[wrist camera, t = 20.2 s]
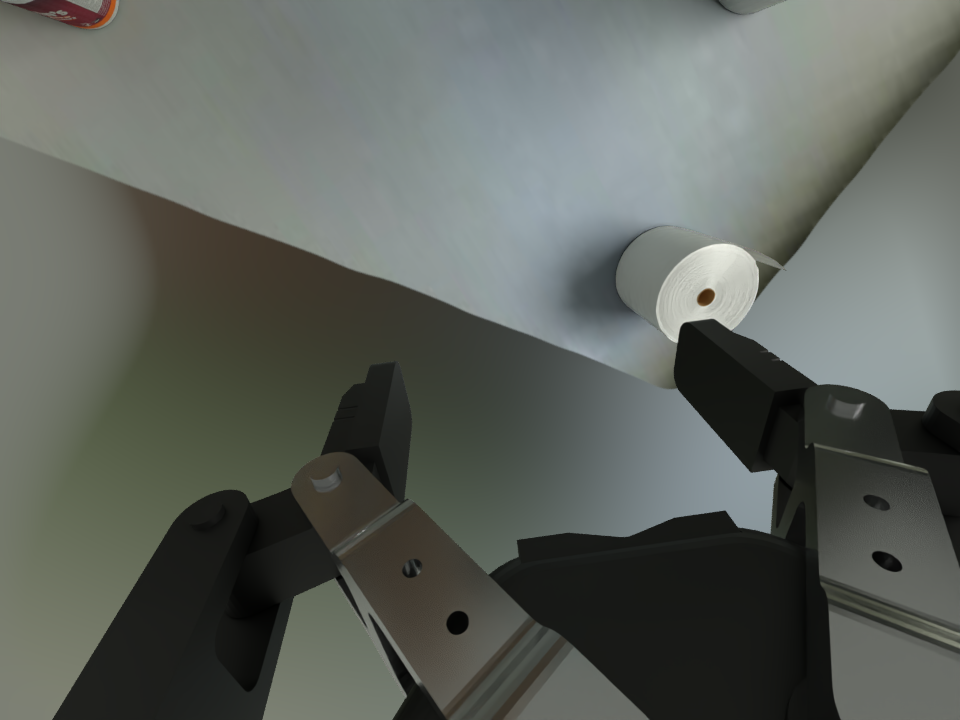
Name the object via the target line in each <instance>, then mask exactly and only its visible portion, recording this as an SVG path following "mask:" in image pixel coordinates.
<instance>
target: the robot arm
mask: <svg viewBox="0 0 960 720" xmlns="http://www.w3.org/2000/svg"><path fill="white" fill-rule="evenodd" d="M784 1H786V0H719V2H720V3H721V4H722V5H723V6H724V7H725V8H726V9H728V10H730V11H732V12H734V13H739V14H751V13H755V12H758V11H760V10H763V9H766V8H768V7H771V6H773V5H776V4H778V3H781V2H784ZM674 379H675V383H676V386H677V388H678V390H679V391H680V392H681V394H682V395H683V396H684V397H685V398H686V399H687V400H688V402H689V403H690V404H691V405H692V406H693V407H694V408H695V410H696V411H697V412H698V413H699V414H700V415H701V416H702V417H703V419H704V420H705V421H706V422H707V423H708V424H709V425H710V427H711V428H712V429H713V430H714V431H715V432H716V433H717V434H718V436H719V437H720V438H721V439H722V440H723V441H724V442H725V443H726V445H727V446H728V447H729V448H730V449H731V450H732V451H733V453H734V454H735V455H736V456H737V457H738V458H739V460H740V461H741V462H742V463H743V464H744V465H745V466H746V467H747V469H749V471H750V472H752V473H753V472H760V471H766V470H775V471H776V472H777V473H778V474H777V477H776V480H775V483H774V490H773V506H772V520H771V534H768V533H764V532H760V531H756V530H750V529H745V528H738V527H737V526H736V524H735V523H734V522H733V520H732V519H731V518H730V516H729V515H728V514H727V512H726V511H719V512H712V513H705V514H698V515H691V516H684V517H677V518H673V519H671V520H668V521H666V522H664V523H661V524H658V525H656V526H654V527H651V528H649V529H647V530H644V531H642V532H640V533H637V534H635V535H632V536H630V537H612V536H600V535H589V534H576V533H564V534H556V535H550V536H542V537H535V538H528V539H521V540H517V545H518V554H519V557H517V558H515V559H513V560H510V561H508V562H507V563H505V564H504V565H502V566H500V567H498V568H497V569H496V570H494V571H493V572H492V573H490V574H489V575H488V574H487V573H486V572H485V571H484V570H483V569H482V568H481V567H480V566H479V565H478V564H477V563H476V562H475V561H474V560H473V559H472V558H470V556H469V555H468V554H467V553H465V551H463V549H462V548H461V547H459V545H457V544H456V543H455V542H454V541H453V540H452V539H451V538H450V537H449V536H448V535H447V534H446V533H445V532H444V531H443V530H442V529H441V528H440V527H439V526H438V525H437V524H436V523H435V522H434V521H433V520H432V519H431V518H430V517H429V516H428V515H427V514H426V513H425V512H424V511H423V510H422V509H421V508H420V507H419V506H418V505H417V504H416V503H415V502H413V501H412V500H410V499H406V500H404V498H405V488H406V479H407V469H408V459H409V450H410V441H411V431H412V416H411V409H410V404H409V400H408V396H407V392H406V388H405V384H404V380H403V376H402V372H401V368H400V365H399V363H398V362H397V361H394V362H387V363H379V364H372V365H371V366H370V368H369V371H368V374H367V378H366V381H365V383H362V384H355V385H353V386H352V387H351V388H350V389H349V390H348V391H347V392H346V394H344V395H343V396H342V399H341V402H340V405H339V407H338V411H337V413H336V415H335V418H334V422H333V423H332V426H331V429H330V431H329V434H328V437H327V440H326V442H325V445H324V448H323V450H322V453H321V456H319V457H317V458H315V459H313V460H311V461H310V462H308V463H307V464H306V465H304V466H303V467H302V468H301V469H300V470H299V471H298V472H297V473H296V475H295V476H294V478H293V481H292V483H291V488H289V489H287V490H284V491H282V492H279V493H277V494H274V495H271V496H269V497H266V498H264V499H261V500H258V501H256V502H253V503H250V502H249V500H248V498H247V496H246V495H245V494H244V493H243V492H241V491H238V490H223V491H219V492H216V493H213V494H210V495H208V496H206V497H204V498H202V499H200V500H198V501H197V502H195V503H193V504H192V505H191V506H189V507H188V508H187V509H185V510H184V511H183V512H182V513H181V514H180V515H179V516H178V517H177V518H176V520H175V521H174V522H173V524H172V525H171V527H170V528H169V530H168V532H167V534H166V535H165V537H164V538H163V540H162V542H161V543H160V545H159V546H158V548H157V550H156V551H155V553H154V555H153V556H152V558H151V559H150V561H149V563H148V564H147V566H146V568H145V569H144V571H143V573H142V574H141V576H140V578H139V579H138V581H137V583H136V584H135V586H134V587H133V589H132V591H131V592H130V594H129V596H128V597H127V599H126V600H125V602H124V604H123V605H122V607H121V609H120V610H119V612H118V613H117V615H116V617H115V618H114V620H113V621H112V623H111V625H110V626H109V628H108V630H107V631H106V633H105V635H104V636H103V638H102V640H101V641H100V643H99V644H98V646H97V648H96V649H95V651H94V653H93V654H92V656H91V657H90V659H89V661H88V662H87V664H86V666H85V667H84V669H83V671H82V672H81V674H80V675H79V677H78V679H77V680H76V682H75V684H74V685H73V687H72V688H71V690H70V692H69V693H68V695H67V697H66V698H65V700H64V702H63V703H62V705H61V706H60V708H59V710H58V711H57V713H56V715H55V716H54V718H53V719H52V720H262V719H263V715H264V711H265V707H266V703H267V699H268V695H269V691H270V688H271V683H272V679H273V676H274V672H275V668H276V664H277V660H278V656H279V652H280V649H281V645H282V641H283V637H284V633H285V629H286V626H287V622H288V617H289V614H290V610H291V606H292V602H293V598H294V596H296V595H298V594H300V593H303V592H304V591H307V590H309V589H311V588H314V587H316V586H318V585H320V584H322V583H324V582H327V581H329V580H331V579H334V580H335V581H336V583H337V585H338V586H339V588H340V590H341V591H342V592H343V594H344V596H345V598H346V599H347V601H348V602H349V604H350V606H351V607H352V609H353V610H354V612H355V614H356V615H357V617H358V619H359V620H360V622H361V623H362V625H363V626H364V628H365V630H366V631H367V633H368V634H369V636H370V638H371V640H372V641H373V643H374V645H375V646H376V648H377V650H378V652H379V654H380V656H381V657H382V659H383V661H384V663H385V665H386V666H387V668H388V670H389V672H390V673H391V675H392V677H393V678H394V680H395V682H396V683H397V685H398V687H399V688H400V690H401V692H402V693H403V695H404V696H405V698H406V699H405V700H404V702H403V703H402V705H401V707H400V708H399V710H398V712H397V713H396V715H395V716H394V718H393V720H960V391H943V392H940V393H937V394H936V395H934V397H933V398H932V400H931V402H930V404H929V406H928V408H927V410H926V411H909V410H908V411H906V410H892V409H889V408H888V407H887V405H886V404H885V403H884V402H882V401H881V400H880V399H878V398H876V397H875V396H873V395H871V394H868V393H866V392H864V391H861V390H858V389H855V388H851V387H847V386H841V385H830V384H825V385H817V384H816V383H814V382H813V381H812V380H810V379H809V378H807V377H806V376H804V375H803V374H801V373H800V372H799V371H797V370H796V369H794V368H792V367H791V366H790V365H788V364H787V363H786V362H784V361H783V360H782V361H780V358H779V357H777V356H776V355H774V354H773V353H771V352H768V350H767V349H766V348H764V347H763V346H761V345H760V344H758V343H757V342H756V341H754V340H752V339H749V338H746V337H744V336H741V335H738V334H736V333H733V332H732V331H731V330H729V329H728V328H726V327H725V326H724V325H722V324H721V323H719V322H718V321H717V320H715V319H705V320H698V321H690V322H685V323H683V324H682V325H681V327H680V331H679V337H678V344H677V351H676V358H675V365H674Z"/></svg>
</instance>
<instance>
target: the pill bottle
mask: <svg viewBox="0 0 960 720" xmlns="http://www.w3.org/2000/svg"><path fill="white" fill-rule="evenodd" d="M0 1H3V2H6V3H9V4H12V5H15V6H18V7H21V8H24V9H27V10H29V11H32V12H35V13H38V14H41V15H44V16H46V17H49V18H52V19H55V20H58V21H61V22H63V23H66V24H69V25H72V26H75V27H79V28H83V29H100V28H103V27H105V26H107V25H108V24H109V23H110V22H111V21H112V20H113V19H114V17H115V16H116V14H117V11H118V6H119V0H0Z"/></svg>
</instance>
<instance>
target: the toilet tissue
mask: <svg viewBox="0 0 960 720" xmlns="http://www.w3.org/2000/svg"><path fill="white" fill-rule="evenodd" d="M755 260H756V261H760V262H762V263H765V264H768V265H771V266H774V267H777V268H780V269H783V270H785V269H784V267H782V266H781V265H780V264H779V263H778V262H776V261H775V260H773V259H771V258H770V257H768V256H766V255H763V254H762V253H761V252H758V251H756V250H753V249H750V248H747V247H743V246H740V245H737V244H734V243H730V242H727V241H724V240H721V239H718V238H714V237H711V236H708V235H705V234H701V233H698V232H695V231H692V230H688V229H684V228H680V227H674V226H661V227H657V228H654V229H651V230H649V231H647V232H645V233H643V234H642V235H640V236H639V237H638V238H636V239H635V240H634V241H633V242H632V243H631V244H630V245H629V246H628V248H627V249H626V250H625V252H624V253H623V255H622V257H621V259H620V261H619V264H618V267H617V271H616V288H617V291H618V294H619V296H620V298H621V299H622V301H623V302H624V303H625V304H626V305H627V306H628V307H629V308H631V309H632V310H633V311H634V312H636V313H637V314H638V315H640V316H641V317H642V318H643V319H645V320H646V321H648V323H649V324H651V325H652V326H654V327H655V328H656V329H657V330H659V331H660V332H662V333H663V334H664V335H665V336H666V337H668V338H669V339H670V340H672V341H674V342H677V343H678V337H679V331H680V327H681V325H682V324H683V323H685V322H690V321H698V320H705V319H715V320H717V321H718V322H719V323H721V324H722V325H724V326H725V327H726V328H728V329H729V330H732V329H734V328H735V327H736V326H737V325H738V324H739V323H740V322H741V321H742V319H743V318H744V317H745V316H746V314H747V313H748V311H749V310H750V308H751V306H752V304H753V302H754V300H755V297H756V294H757V290H758V282H759V276H758V272H759V269H758V268H757V266H756V261H755Z"/></svg>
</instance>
